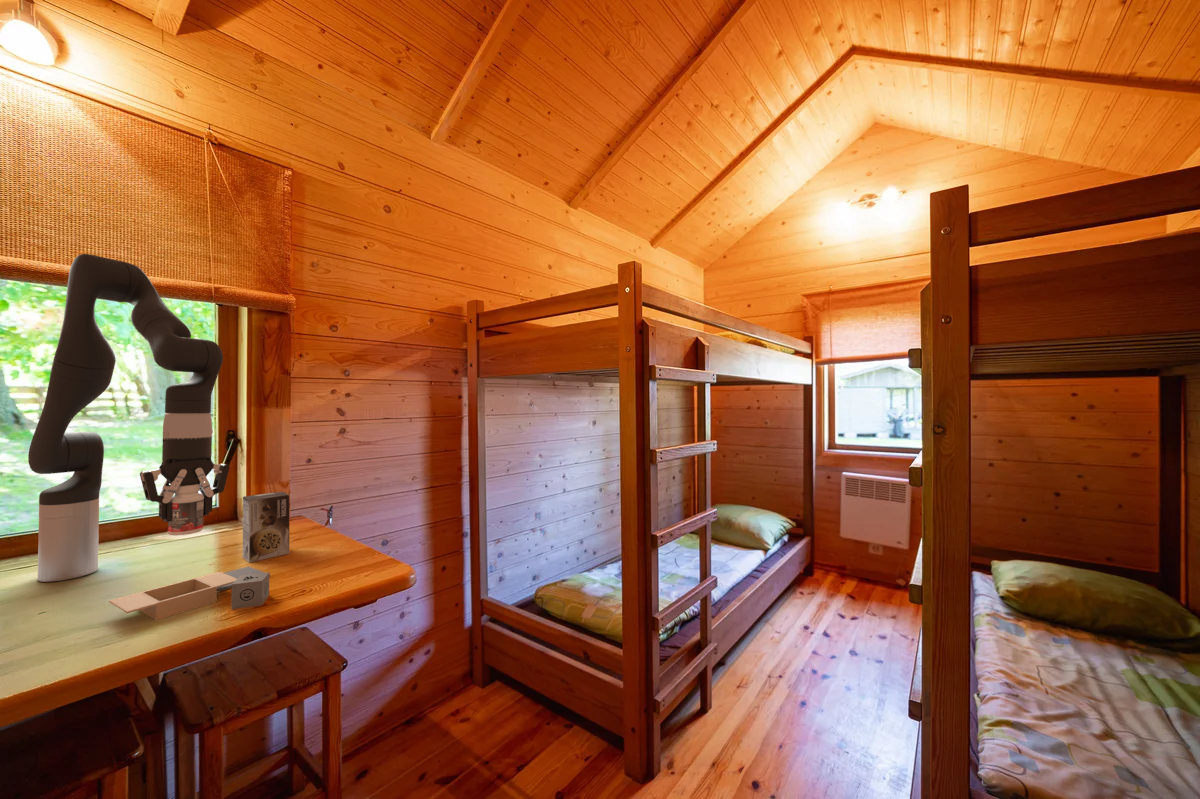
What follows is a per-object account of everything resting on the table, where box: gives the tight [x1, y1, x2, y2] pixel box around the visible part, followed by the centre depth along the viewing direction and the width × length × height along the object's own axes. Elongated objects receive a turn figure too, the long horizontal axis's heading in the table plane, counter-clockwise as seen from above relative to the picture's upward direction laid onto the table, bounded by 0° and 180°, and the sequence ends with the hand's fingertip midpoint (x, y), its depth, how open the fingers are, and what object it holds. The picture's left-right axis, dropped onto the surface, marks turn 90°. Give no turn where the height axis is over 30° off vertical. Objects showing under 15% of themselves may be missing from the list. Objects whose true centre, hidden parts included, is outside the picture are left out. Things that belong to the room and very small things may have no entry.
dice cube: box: [230, 571, 270, 610], centre depth 94 cm, size 5×5×5 cm
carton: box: [108, 571, 237, 621], centre depth 92 cm, size 9×17×3 cm, turn 151°
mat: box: [217, 566, 271, 593], centre depth 105 cm, size 10×10×1 cm
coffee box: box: [242, 491, 291, 563], centre depth 122 cm, size 9×6×16 cm
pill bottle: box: [167, 484, 204, 536], centre depth 94 cm, size 5×5×10 cm
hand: (186, 517), depth 94 cm, fingers closed on pill bottle, 5 cm apart
